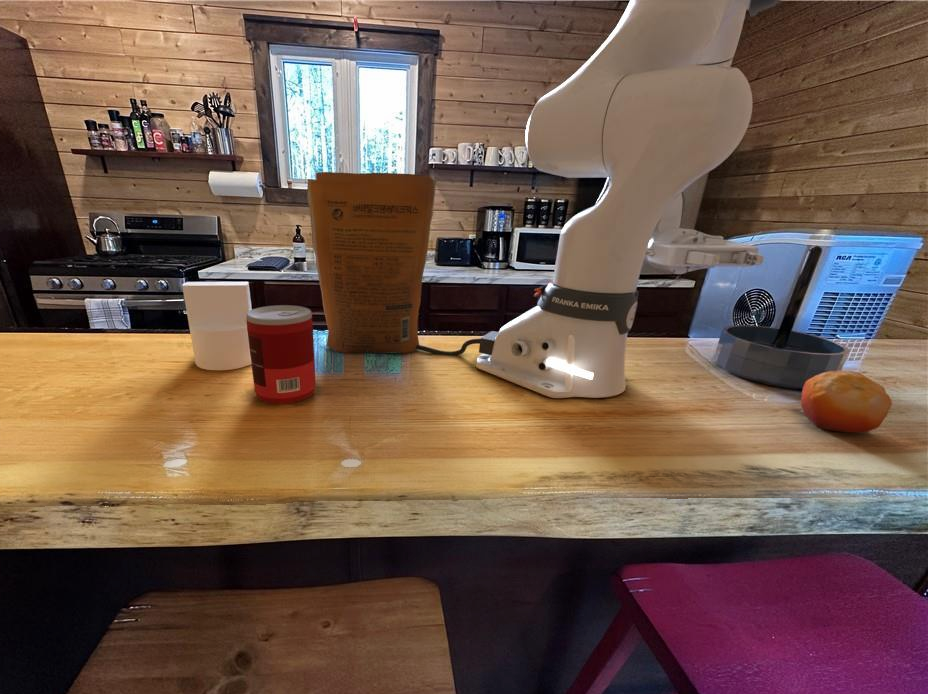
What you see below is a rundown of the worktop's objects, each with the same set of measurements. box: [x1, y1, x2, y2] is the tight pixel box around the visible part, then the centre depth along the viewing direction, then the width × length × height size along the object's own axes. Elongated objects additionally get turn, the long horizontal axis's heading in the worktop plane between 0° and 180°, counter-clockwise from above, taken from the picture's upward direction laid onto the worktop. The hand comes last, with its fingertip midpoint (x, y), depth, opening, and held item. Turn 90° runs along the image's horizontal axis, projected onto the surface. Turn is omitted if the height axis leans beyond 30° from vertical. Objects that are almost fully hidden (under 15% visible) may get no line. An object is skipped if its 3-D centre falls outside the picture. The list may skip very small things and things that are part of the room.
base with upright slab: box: [181, 281, 253, 371], centre depth 66 cm, size 9×9×12 cm
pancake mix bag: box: [306, 171, 437, 355], centre depth 70 cm, size 7×19×28 cm, turn 93°
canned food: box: [246, 304, 317, 405], centre depth 56 cm, size 8×8×11 cm
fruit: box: [800, 370, 893, 434], centre depth 54 cm, size 8×8×8 cm
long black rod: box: [772, 245, 823, 349], centre depth 69 cm, size 5×5×20 cm
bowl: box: [712, 324, 850, 390], centre depth 72 cm, size 16×16×6 cm
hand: (738, 260), depth 77 cm, fingers open, 8 cm apart
